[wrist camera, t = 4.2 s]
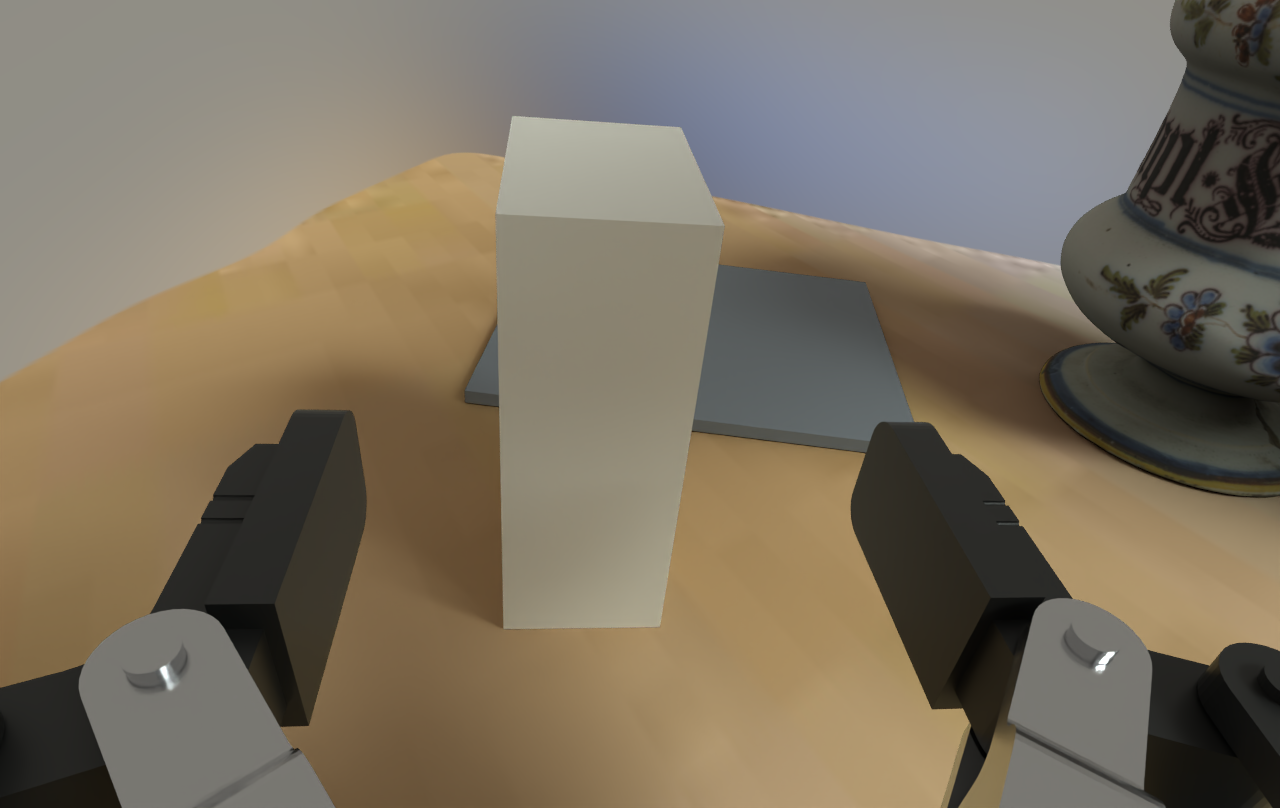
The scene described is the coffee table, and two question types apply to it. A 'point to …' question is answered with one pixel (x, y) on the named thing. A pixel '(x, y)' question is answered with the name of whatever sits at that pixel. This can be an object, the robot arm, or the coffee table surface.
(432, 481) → the coffee table surface
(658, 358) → the tall cream pillar block
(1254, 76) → the apothecary jar
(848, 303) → the mat
